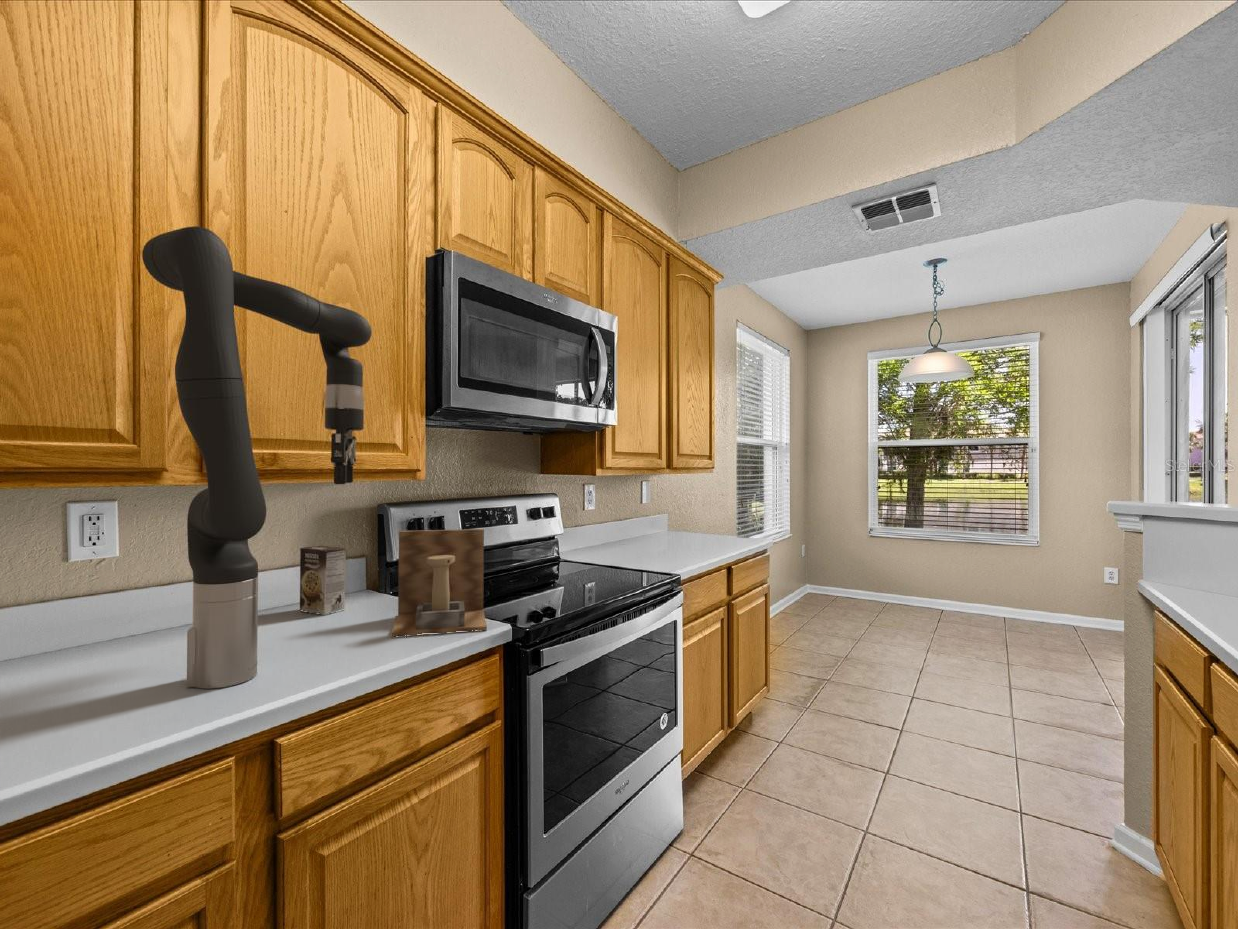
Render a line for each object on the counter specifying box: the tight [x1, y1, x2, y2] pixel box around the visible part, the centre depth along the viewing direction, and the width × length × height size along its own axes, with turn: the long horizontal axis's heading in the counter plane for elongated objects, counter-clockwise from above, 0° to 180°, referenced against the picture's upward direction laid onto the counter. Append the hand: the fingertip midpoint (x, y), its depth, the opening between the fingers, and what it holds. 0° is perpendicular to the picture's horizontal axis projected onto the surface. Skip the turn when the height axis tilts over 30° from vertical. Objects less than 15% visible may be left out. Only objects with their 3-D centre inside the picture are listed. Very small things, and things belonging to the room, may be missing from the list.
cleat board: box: [391, 528, 488, 638], centre depth 134 cm, size 20×19×21 cm
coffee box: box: [299, 544, 347, 616], centre depth 144 cm, size 9×6×16 cm
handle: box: [427, 555, 455, 611], centre depth 131 cm, size 5×6×15 cm
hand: (343, 483), depth 121 cm, fingers open, 8 cm apart
